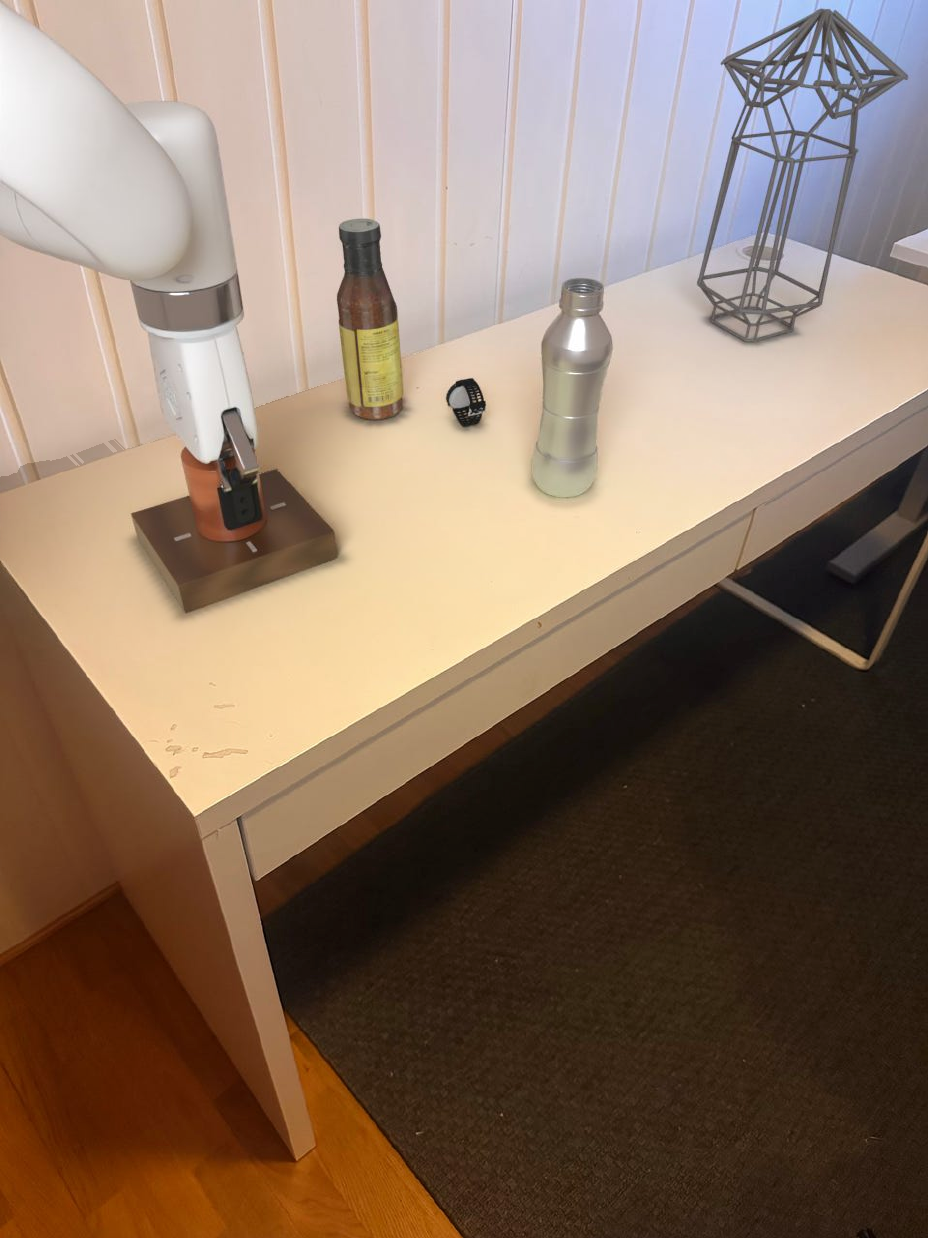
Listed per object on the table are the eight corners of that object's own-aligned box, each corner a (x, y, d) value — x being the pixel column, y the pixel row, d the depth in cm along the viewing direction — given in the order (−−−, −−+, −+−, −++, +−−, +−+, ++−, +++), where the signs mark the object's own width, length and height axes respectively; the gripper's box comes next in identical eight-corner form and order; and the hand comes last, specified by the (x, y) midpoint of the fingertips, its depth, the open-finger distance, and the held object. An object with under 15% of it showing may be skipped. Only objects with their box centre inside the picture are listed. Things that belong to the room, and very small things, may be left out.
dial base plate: (185, 613, 74) (177, 584, 71) (138, 540, 81) (130, 511, 79) (337, 558, 79) (334, 529, 77) (280, 494, 87) (276, 466, 85)
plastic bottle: (520, 497, 87) (533, 293, 74) (542, 463, 92) (558, 266, 79) (583, 512, 85) (609, 306, 72) (602, 476, 90) (630, 278, 77)
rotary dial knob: (211, 549, 75) (195, 475, 70) (186, 515, 79) (169, 442, 74) (277, 527, 78) (266, 454, 73) (249, 495, 81) (237, 423, 76)
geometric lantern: (669, 313, 121) (721, 2, 98) (761, 295, 127) (832, -4, 103) (742, 360, 111) (820, 23, 88) (840, 338, 116) (938, 16, 93)
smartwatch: (482, 412, 100) (483, 371, 96) (485, 436, 96) (487, 393, 93) (445, 413, 100) (445, 371, 96) (447, 436, 96) (447, 393, 92)
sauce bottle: (413, 403, 101) (408, 219, 88) (387, 427, 97) (378, 238, 84) (362, 391, 103) (350, 210, 90) (335, 415, 99) (318, 228, 86)
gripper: (101, 270, 69) (152, 471, 81) (180, 354, 58) (225, 571, 70) (195, 253, 72) (230, 448, 84) (286, 329, 61) (312, 541, 73)
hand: (227, 502), depth 77 cm, fingers closed on rotary dial knob, 6 cm apart
